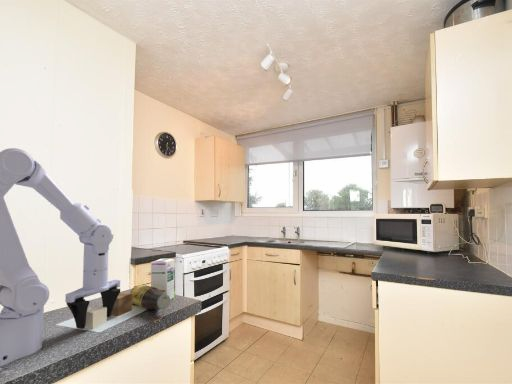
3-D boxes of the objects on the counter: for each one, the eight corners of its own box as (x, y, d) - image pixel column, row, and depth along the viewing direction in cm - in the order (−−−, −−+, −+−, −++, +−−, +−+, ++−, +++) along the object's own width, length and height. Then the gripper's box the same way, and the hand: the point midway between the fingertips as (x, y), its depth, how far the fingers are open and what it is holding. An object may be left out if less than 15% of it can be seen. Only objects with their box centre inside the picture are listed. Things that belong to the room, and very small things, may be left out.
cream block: (92, 328, 68) (93, 312, 68) (81, 327, 69) (82, 311, 69) (106, 322, 71) (106, 307, 72) (95, 321, 73) (96, 306, 73)
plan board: (99, 335, 65) (99, 332, 65) (55, 327, 71) (55, 324, 71) (151, 310, 82) (151, 307, 82) (112, 305, 88) (112, 303, 88)
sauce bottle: (140, 280, 91) (168, 283, 77) (150, 294, 92) (179, 299, 79) (123, 294, 86) (150, 300, 73) (134, 309, 88) (162, 317, 74)
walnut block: (118, 316, 76) (118, 298, 76) (105, 314, 77) (105, 296, 78) (132, 310, 80) (132, 293, 81) (119, 308, 82) (119, 292, 83)
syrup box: (167, 307, 85) (167, 261, 86) (150, 306, 86) (150, 261, 87) (175, 301, 90) (175, 258, 92) (159, 300, 91) (159, 258, 93)
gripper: (80, 276, 63) (78, 335, 62) (128, 265, 77) (127, 313, 76) (60, 275, 66) (58, 332, 64) (110, 264, 79) (109, 311, 78)
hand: (94, 321), depth 70 cm, fingers open, 7 cm apart
